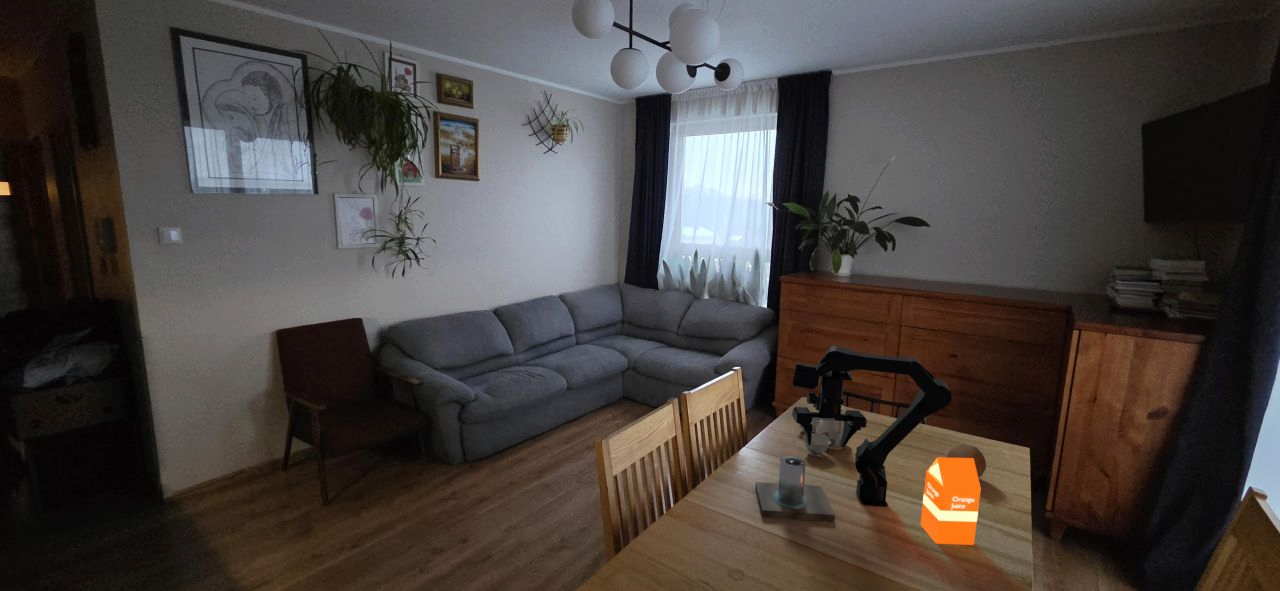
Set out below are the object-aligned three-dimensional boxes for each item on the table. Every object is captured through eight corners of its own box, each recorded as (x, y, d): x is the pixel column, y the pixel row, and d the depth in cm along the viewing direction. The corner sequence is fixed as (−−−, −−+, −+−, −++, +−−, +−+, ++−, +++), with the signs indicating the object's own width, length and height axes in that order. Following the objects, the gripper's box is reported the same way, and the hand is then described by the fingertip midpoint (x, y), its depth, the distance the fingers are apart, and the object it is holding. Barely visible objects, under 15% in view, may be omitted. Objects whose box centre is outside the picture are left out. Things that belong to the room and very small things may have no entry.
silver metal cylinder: (804, 495, 138) (806, 458, 136) (801, 508, 132) (804, 469, 131) (780, 490, 141) (782, 453, 139) (776, 502, 135) (778, 464, 133)
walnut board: (820, 492, 144) (821, 485, 143) (834, 522, 130) (835, 514, 130) (755, 488, 146) (755, 481, 145) (762, 517, 132) (762, 509, 131)
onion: (951, 483, 150) (955, 450, 148) (941, 467, 159) (944, 436, 158) (989, 488, 147) (993, 455, 146) (976, 471, 157) (980, 440, 155)
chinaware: (790, 429, 190) (788, 386, 187) (836, 427, 188) (835, 383, 185) (808, 466, 162) (806, 416, 159) (863, 464, 160) (862, 413, 158)
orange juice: (919, 524, 130) (928, 449, 126) (955, 525, 129) (964, 450, 126) (936, 544, 122) (945, 465, 119) (974, 545, 122) (984, 466, 118)
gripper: (855, 384, 148) (849, 435, 151) (790, 380, 149) (785, 431, 152) (870, 398, 137) (863, 453, 140) (800, 394, 138) (794, 448, 141)
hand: (825, 445), depth 143 cm, fingers open, 9 cm apart
